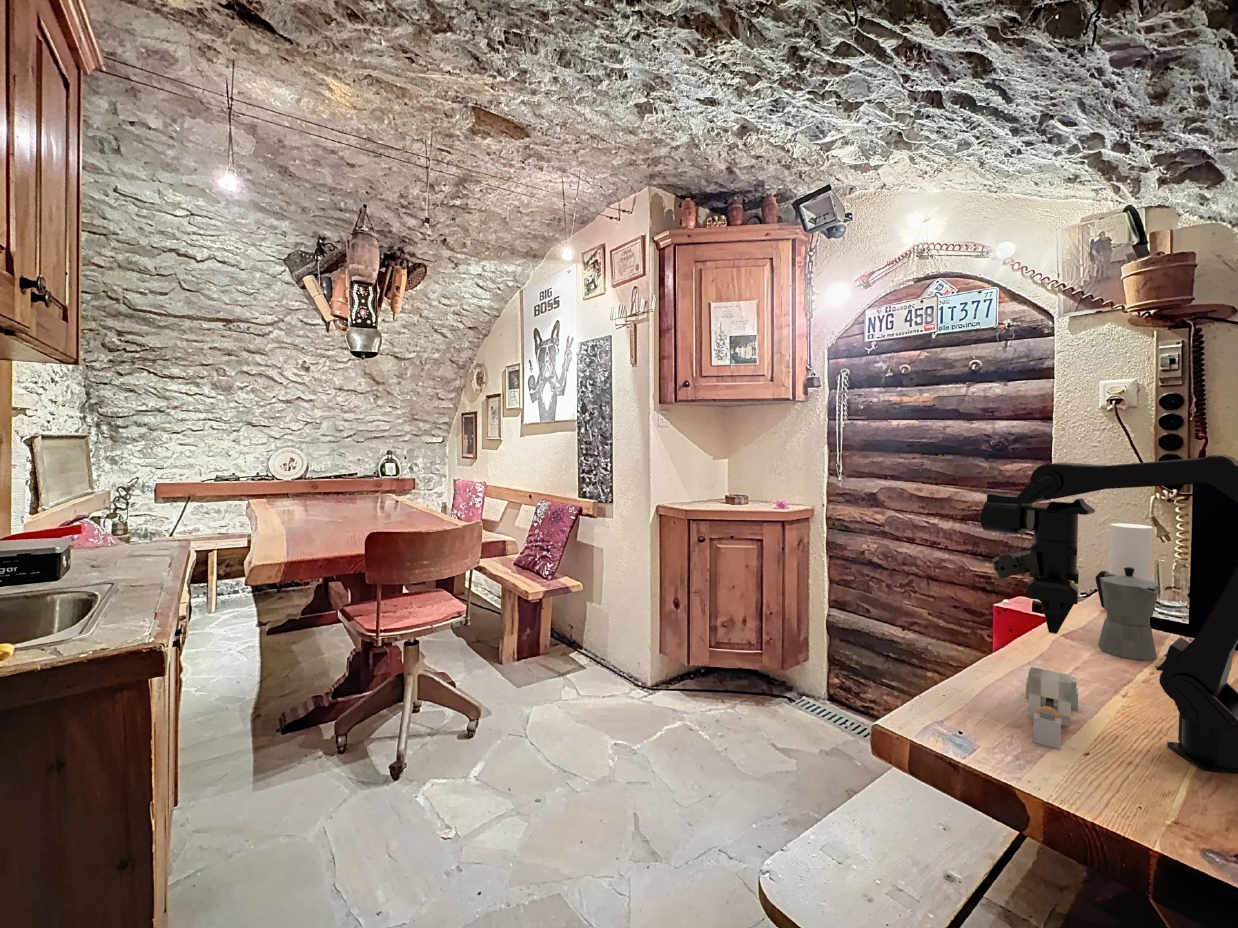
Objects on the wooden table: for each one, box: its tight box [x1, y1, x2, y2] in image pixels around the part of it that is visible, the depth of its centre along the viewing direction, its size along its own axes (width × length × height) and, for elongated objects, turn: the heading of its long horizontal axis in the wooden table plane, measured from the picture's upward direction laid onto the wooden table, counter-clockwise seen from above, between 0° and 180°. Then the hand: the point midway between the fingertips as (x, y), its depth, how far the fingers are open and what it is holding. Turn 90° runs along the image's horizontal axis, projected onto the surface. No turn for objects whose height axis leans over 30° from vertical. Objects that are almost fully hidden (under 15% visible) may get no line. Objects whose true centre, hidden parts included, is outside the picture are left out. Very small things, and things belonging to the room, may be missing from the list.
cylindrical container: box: [1108, 522, 1154, 624], centre depth 129 cm, size 7×7×25 cm
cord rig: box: [1025, 667, 1079, 750], centre depth 91 cm, size 19×7×5 cm, turn 141°
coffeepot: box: [1094, 567, 1161, 661], centre depth 120 cm, size 15×9×18 cm, turn 174°
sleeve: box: [1027, 666, 1073, 727], centre depth 90 cm, size 4×5×7 cm
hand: (1052, 632), depth 94 cm, fingers closed
